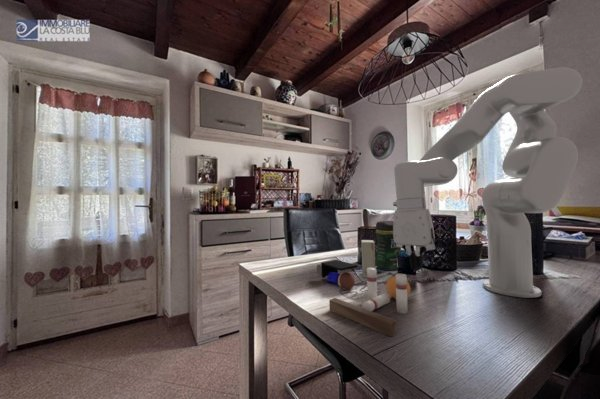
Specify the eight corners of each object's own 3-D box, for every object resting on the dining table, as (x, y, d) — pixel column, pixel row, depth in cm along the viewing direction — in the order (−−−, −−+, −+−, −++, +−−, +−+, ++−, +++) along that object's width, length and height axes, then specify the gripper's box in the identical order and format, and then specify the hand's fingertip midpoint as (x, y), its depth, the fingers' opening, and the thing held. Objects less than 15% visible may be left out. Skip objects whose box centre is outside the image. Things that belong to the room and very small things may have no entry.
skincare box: (376, 278, 83) (375, 242, 83) (362, 278, 84) (361, 242, 84) (374, 273, 89) (373, 239, 90) (362, 272, 90) (361, 239, 91)
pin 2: (399, 308, 59) (398, 273, 59) (409, 311, 57) (408, 275, 58) (394, 311, 58) (393, 275, 58) (404, 314, 56) (403, 277, 56)
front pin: (379, 297, 64) (359, 306, 59) (384, 291, 63) (364, 300, 58) (387, 305, 62) (367, 315, 57) (391, 298, 61) (371, 308, 56)
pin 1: (371, 299, 65) (370, 267, 66) (379, 301, 64) (378, 268, 64) (365, 301, 64) (365, 268, 64) (373, 304, 62) (372, 270, 62)
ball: (380, 277, 66) (383, 300, 66) (401, 281, 61) (404, 305, 61) (392, 271, 69) (395, 292, 69) (413, 274, 65) (416, 297, 65)
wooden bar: (335, 307, 60) (334, 297, 60) (396, 333, 48) (396, 320, 48) (329, 310, 59) (329, 300, 59) (391, 336, 47) (390, 323, 47)
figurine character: (315, 284, 83) (342, 292, 70) (314, 261, 84) (340, 265, 71) (332, 281, 86) (361, 288, 73) (330, 258, 87) (358, 262, 74)
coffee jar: (386, 272, 90) (385, 221, 91) (373, 267, 98) (371, 220, 98) (407, 269, 94) (405, 220, 94) (392, 264, 101) (390, 219, 102)
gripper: (380, 206, 73) (385, 268, 73) (433, 204, 62) (439, 276, 62) (393, 205, 78) (398, 262, 78) (444, 202, 67) (450, 270, 67)
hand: (416, 268), depth 70 cm, fingers closed
